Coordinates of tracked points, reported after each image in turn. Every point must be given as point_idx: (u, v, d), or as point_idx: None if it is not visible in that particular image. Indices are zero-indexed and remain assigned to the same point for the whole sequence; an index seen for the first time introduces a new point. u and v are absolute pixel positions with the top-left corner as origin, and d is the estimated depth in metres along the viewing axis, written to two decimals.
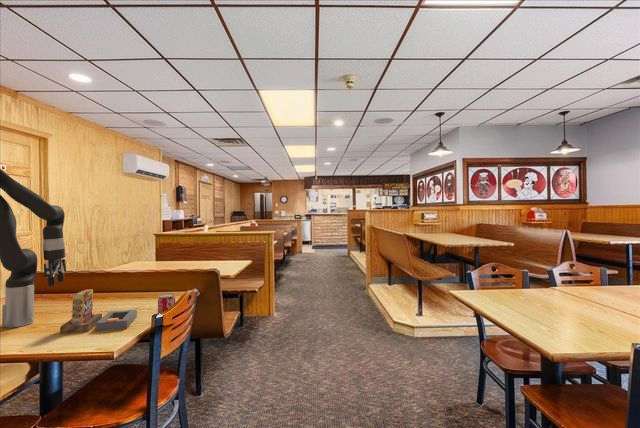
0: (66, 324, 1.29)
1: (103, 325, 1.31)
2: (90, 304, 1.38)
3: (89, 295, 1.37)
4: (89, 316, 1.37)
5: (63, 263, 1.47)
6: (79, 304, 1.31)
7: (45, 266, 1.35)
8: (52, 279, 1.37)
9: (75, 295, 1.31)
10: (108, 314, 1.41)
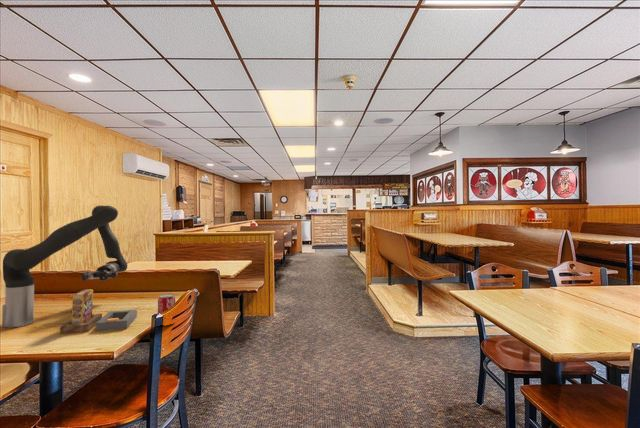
0: (66, 324, 1.29)
1: (103, 325, 1.31)
2: (90, 304, 1.38)
3: (89, 295, 1.37)
4: (89, 316, 1.37)
5: (87, 276, 1.54)
6: (79, 304, 1.31)
7: (117, 272, 1.58)
8: (108, 277, 1.52)
9: (75, 295, 1.31)
10: (108, 314, 1.41)
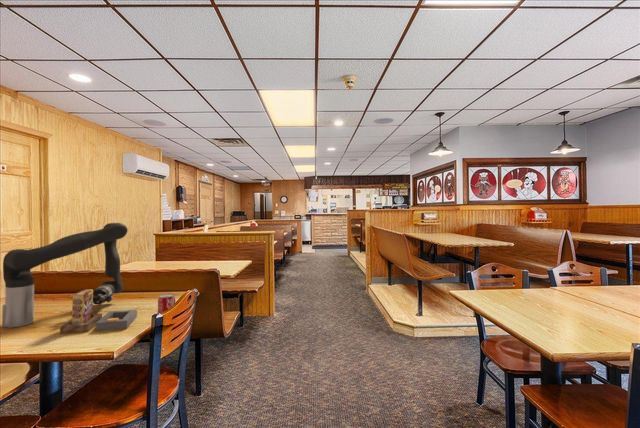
0: (66, 324, 1.29)
1: (103, 325, 1.31)
2: (90, 304, 1.38)
3: (89, 295, 1.37)
4: (89, 316, 1.37)
5: None
6: (79, 304, 1.31)
7: (112, 295, 1.52)
8: None
9: (75, 295, 1.31)
10: (108, 314, 1.41)
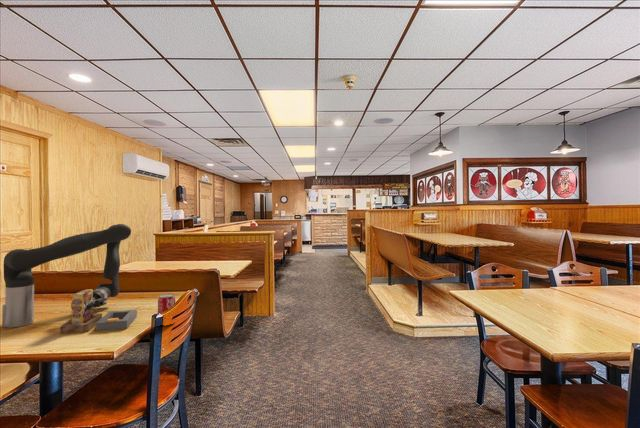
0: (66, 324, 1.29)
1: (103, 325, 1.31)
2: None
3: (89, 295, 1.37)
4: (89, 316, 1.37)
5: None
6: (79, 304, 1.31)
7: (105, 300, 1.44)
8: None
9: (75, 295, 1.31)
10: (108, 314, 1.41)
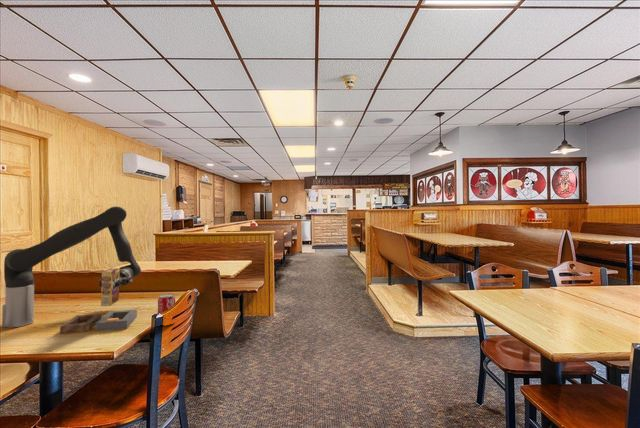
0: (66, 324, 1.29)
1: (103, 325, 1.31)
2: None
3: (116, 273, 1.40)
4: (116, 294, 1.41)
5: None
6: (108, 281, 1.35)
7: (131, 279, 1.48)
8: (119, 285, 1.41)
9: (104, 272, 1.35)
10: (108, 314, 1.41)
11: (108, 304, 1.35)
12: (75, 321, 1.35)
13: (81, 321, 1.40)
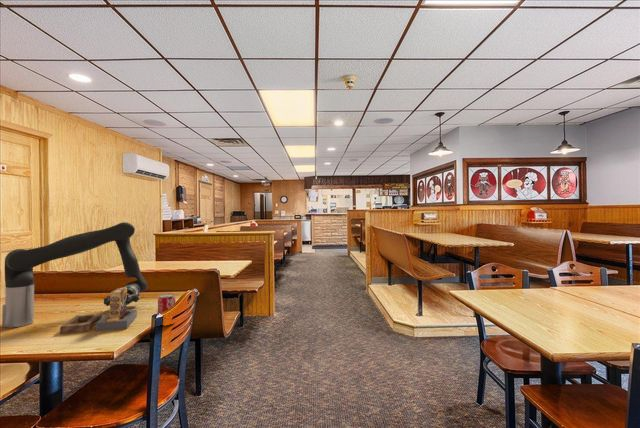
0: (66, 324, 1.29)
1: (103, 325, 1.31)
2: (125, 302, 1.42)
3: (124, 293, 1.41)
4: (124, 313, 1.42)
5: None
6: (116, 301, 1.36)
7: (139, 295, 1.49)
8: None
9: (112, 293, 1.35)
10: (108, 314, 1.41)
11: None
12: (75, 321, 1.35)
13: (81, 321, 1.40)
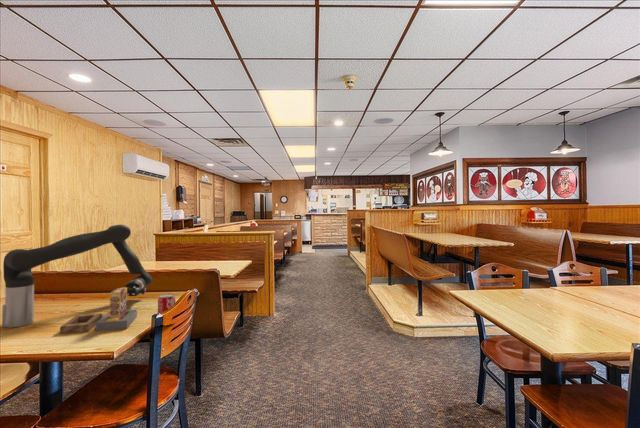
0: (66, 324, 1.29)
1: (103, 325, 1.31)
2: (125, 302, 1.42)
3: (124, 293, 1.41)
4: (124, 313, 1.42)
5: None
6: (116, 301, 1.36)
7: (145, 288, 1.62)
8: None
9: (112, 293, 1.35)
10: (108, 314, 1.41)
11: None
12: (75, 321, 1.35)
13: (81, 321, 1.40)
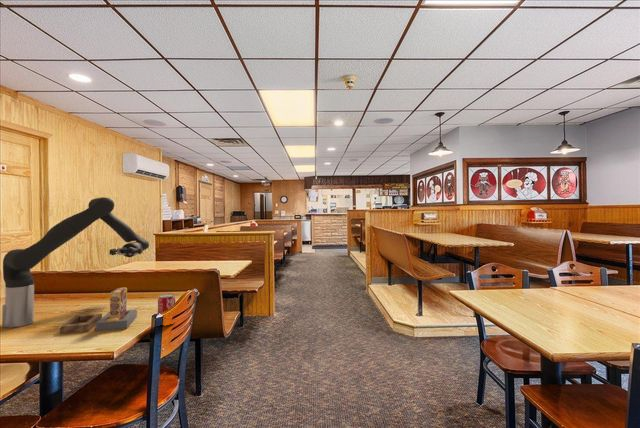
0: (66, 324, 1.29)
1: (103, 325, 1.31)
2: (125, 302, 1.42)
3: (124, 293, 1.41)
4: (124, 313, 1.42)
5: None
6: (116, 301, 1.36)
7: (142, 249, 1.66)
8: None
9: (112, 293, 1.35)
10: (108, 314, 1.41)
11: None
12: (75, 321, 1.35)
13: (81, 321, 1.40)
